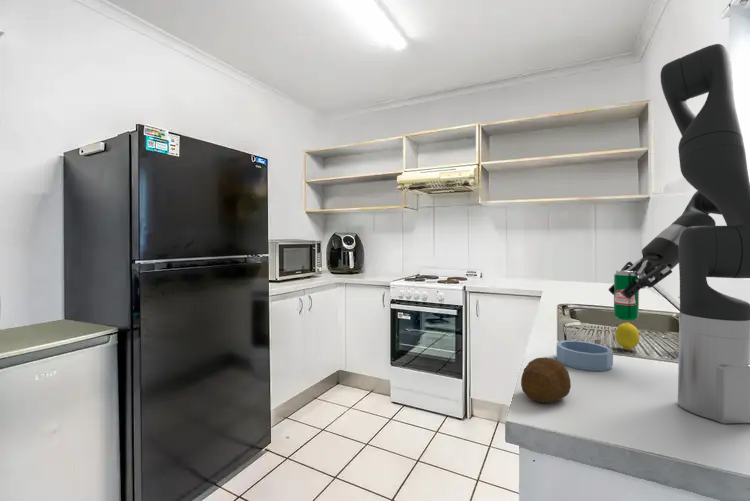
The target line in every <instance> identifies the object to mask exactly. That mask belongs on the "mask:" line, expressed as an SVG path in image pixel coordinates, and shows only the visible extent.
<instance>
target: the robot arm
mask: <svg viewBox="0 0 750 501" xmlns="http://www.w3.org/2000/svg"><path fill="white" fill-rule="evenodd" d="M732 68H733V67H732V61H731V55H730V53H729V51H728V49H727V48H726V46H724V44H721V43H715V44H711V45H707V46H704V47H702V48H701V49H697V50H695V51H693V52H691V53H688V54H686V55H684V56H681V57H679V58H677V59H674V60H671V61H670V62H668V63H666V64H664V65H663V66H662V68H661V70H660V84H661V90H662V92H663V96H664V99H665V101H666V103H667V105H668V109H669V110H670V112H671V115H672V118H673V120H674V122H675V124H676V127H677V128H678V131H679V132H680V135H681V138H680V140H679V143H678V158H679V168H680V173H681V175H682V177H684V179H685V181H686V182H687V183H688V184H689V185H690V186H692V187H693V188H694V189H695V190H696V191H695V192H694V194H692V197H691V198H690V200H689V202H688V203H687V205H686V207H685V208H684V210H683V212H682V213H681V215H680V216H678V217H677V218H676V220H674V221H673V222H672V223H671V224H670V225H669V226H668V227H666V228H664V229H663V230H662V231H661V232H660V233H659V234H658V235H656V236H655V237H654V238H653V239H652V240H651V241H649V243H647V244H646V245H645V246H644V247H643V248H642V249H641V254H642V257H641V258H640V259H638V260H637V261H635V262H634V263H633V262H631V261H628V262H626V264H624V265H623V267H622V268H621V269H620V271H637V277H636V279H635V280H634V282H632V283H631V284H629V285H628V286H627V287H626V288H625V289H624V290H623V291H622V294H623V295H624V296H625V297H626V298H631V297H632V296H633V295H634V294H636V293H637V292H638V291H639V292H640V290H643V289H646V287H648V288H652V287H654V286H655V285H656V284H658V283H659V282H660V281H662V280H664V279H665V278H666V277H668V276H670V275H671V274H672V273H673V271H672V270H673V269H674V268H675V267H676V266H677V265H678V270H679V319H680V322H679V321H678V323H679V325H678V326H679V327H678V330H679V331H678V361H677V362H678V364H677V366H678V368H677V369H678V370H677V371H678V372H677V374H678V375H677V404H678V405H679V407H681V408H682V409H684V410H685V411H687V412H689V413H692V414H694V415H697V416H700V417H703V418H706V419H710V420H713V421H716V422H719V423H720V424H750V303H749V302H748V301H746V300H743V299H739V298H737V297H733V296H730V295H727V294H724V293H721V292H720V291H718V290H716V289H714V288H712V287H711V286H710V285H709V284H708V280H707V278H720V279H721V278H722V279H725V278H727V279H750V179H749V176H750V175H749V171H748V170H749V169H748V165H747V155H746V148H745V143H744V139H743V134H742V129H741V125H740V122H739V118H738V113H737V108H736V104H735V92H734V90H735V89H734V82H733V80H734V79H733V78H734V77H733V69H732ZM705 94H707V97H706V100H705V102H704V103H703V105H702V107H701V109H700V110H699V112H698V113H697V114H695V112H693V110H692V109H691V107H690V106H689V104H688V102H687V101H688V100H690V99H693V98H697V97H700V96H702V95H705ZM710 214H714V215H719V216H720V215H721V216H722V217H723V220H724V222H725V225H716V220H715V219H714V218H713V217H712V216H711V215H710ZM608 291H609V293H610V294H612V295H613V296H614V283H613V284H612V285H611V286H610V287H609V288H608Z"/></svg>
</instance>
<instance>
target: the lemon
mask: <svg viewBox="0 0 750 501" xmlns="http://www.w3.org/2000/svg"><path fill="white" fill-rule="evenodd" d="M614 334H615V340H616V343H617V344H618V345H619V346H620V347H622V348H623V349H624V350H626V351H629V350H630V349H634V348H636V347H637V346H638V344H639V342H640V333H639V330H638V328H637V327H636V326H634V325H633V324H631V323H630V322H623V323H621V324H619V325H618V326H617V328H616V330H615V333H614Z"/></svg>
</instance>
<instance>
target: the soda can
mask: <svg viewBox="0 0 750 501" xmlns="http://www.w3.org/2000/svg"><path fill="white" fill-rule="evenodd" d="M613 276H614V279H613V284H614V295H613V317H614V318H615V319H617V320H622V321H637V320H638V319H639V315H640V314H639V313H640V312H639V310H640V308H639V307H640V304H639V303H640V290H639V291H638V292H637V293H636V294H634V295H633V296H632V297H631V298H626V297H625V296H624V295H623V294H622V291H623V290H624V289H625V288H626V287H627V286H628V285H629V284H631V283H632V282H634V280H635V279H636V277H637V271H621V270H615V273H614V275H613Z"/></svg>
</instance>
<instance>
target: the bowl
mask: <svg viewBox="0 0 750 501" xmlns="http://www.w3.org/2000/svg"><path fill="white" fill-rule="evenodd" d="M555 355H556V360H557V361H558V362H560V363H561V364H563V365H564V366H566V367H568V366H569V367H570V368H572V369H577V370H581V371H588V372H609V371H611V370H612V369H613V366H614V351H613V349H612V348H610V347H608V346H605V345H602V344H598V343H594V342H589V341H583V340H561V341H556V354H555Z"/></svg>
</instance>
